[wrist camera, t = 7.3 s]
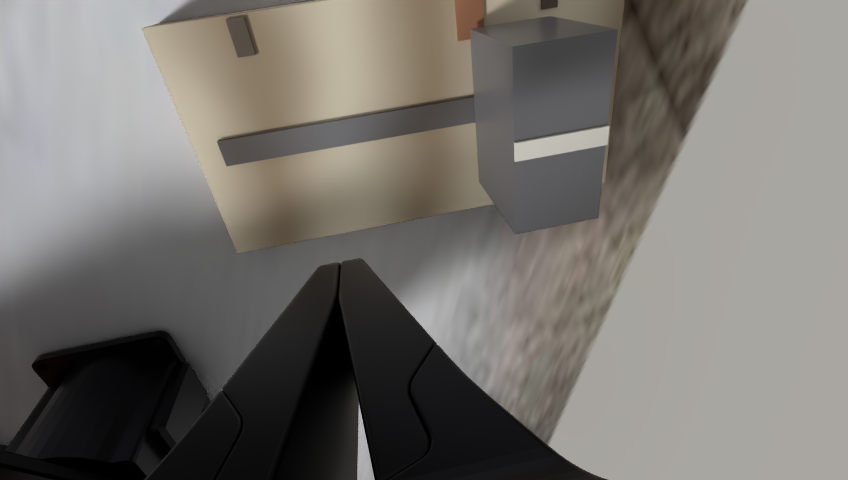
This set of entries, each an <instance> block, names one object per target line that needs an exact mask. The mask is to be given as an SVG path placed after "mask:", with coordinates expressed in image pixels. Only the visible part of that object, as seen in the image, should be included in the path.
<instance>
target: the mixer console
mask: <svg viewBox="0 0 848 480" xmlns="http://www.w3.org/2000/svg"><path fill="white" fill-rule="evenodd" d="M624 2H625V0H314V1H307V2H300V3H294V4H287V5H280V6H274V7H267V8H260V9H254V10H247V11H240V12H234V13H227V14H220V15H214V16H207V17H200V18H194V19H187V20H180V21H174V22H167V23H160V24H155V25H152V26H148V27H144V28H141V29H142V31H143V33H144V36H145V38H146V40H147V43H148V45H149V47H150V50H151V52H152V54H153V57H154V59H155V61H156V64H157V66H158V68H159V71H160V73H161V76H162V78H163V80H164V83H165V85H166V87H167V90H168V92H169V94H170V97H171V99H172V101H173V104H174V106H175V108H176V111H177V113H178V115H179V118H180V120H181V122H182V125H183V127H184V129H185V132H186V134H187V136H188V139H189V141H190V143H191V146H192V148H193V150H194V153H195V155H196V157H197V160H198V162H199V164H200V167H201V169H202V171H203V174H204V176H205V178H206V181H207V183H208V186H209V188H210V190H211V193H212V195H213V197H214V200H215V202H216V204H217V207H218V209H219V211H220V214H221V216H222V218H223V221H224V223H225V225H226V228H227V230H228V232H229V235H230V237H231V239H232V242H233V244H234V246H235V249H236V251H237V253H243V252H249V251H254V250H259V249H264V248H269V247H275V246H280V245H285V244H290V243H295V242H300V241H306V240H311V239H316V238H321V237H326V236H331V235H337V234H342V233H347V232H352V231H357V230H363V229H368V228H373V227H378V226H383V225H388V224H394V223H399V222H404V221H409V220H414V219H419V218H425V217H430V216H435V215H440V214H445V213H451V212H456V211H461V210H466V209H471V208H476V207H482V206H487V205H492V204H494V203H493V201H492V200H491V199H490V197H489V196H488V194H487V193H486V191H485V190H484V188H483V187H482V185H481V184H480V183H479V174H478V157H477V140H476V124H475V107H474V90H473V74H472V57H471V41H470V29H472V28H478V27H484V26H490V25H497V24H503V23H509V22H515V21H522V20H528V19H534V18H541V17H547V16H553V17H558V18H563V19H569V20H574V21H579V22H584V23H589V24H594V25H599V26H605V27H610V28H615V29H618V34H617V43H616V53H615V62H614V72H613V81H612V91H611V100H610V110H609V119H608V126H610V127H609V136H608V145H606V147H605V157H604V166H603V176H602V183H605V176H606V167H607V157H608V148H609V139H610V130H611V121H612V112H613V103H614V94H615V84H616V75H617V66H618V57H619V48H620V39H621V30H622V20H623V11H624Z"/></svg>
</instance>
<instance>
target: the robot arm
mask: <svg viewBox="0 0 848 480" xmlns="http://www.w3.org/2000/svg"><path fill="white" fill-rule="evenodd" d="M157 340H160V341H162V342H159V341H157ZM32 368H33V370H34V371H35V372H36V373H37V374H38V375H39V377H40V378H41V379H42V380H43V381H44V382H45V383H46V384H47V386H48V387H49V388H48V389H47V391H46V392H45V394H44V395H43V397H42V398H41V400H40V401H39V402H38V404H37V405H36V407H35V408H34V410H33V411H32V412H31V414H30V415H29V417H28V418H27V420H26V421H25V423H24V424H23V425H22V427H21V428H20V430H19V431H18V433H17V434H16V435H15V437H14V438H13V440H12V441H11V443H10V444H9V446H8V447H7V448H6V450H5V451H4V450H0V480H357V458H358V409H359V404H360V409H361V414H362V419H363V424H364V429H365V434H366V439H367V444H368V448H369V453H370V458H371V463H372V468H373V473H374V478H375V480H607V479H604V478H601V477H598V476H596V475H593V474H591V473H589V472H587V471H585V470H583V469H581V468H579V467H578V466H576V465H574V464H572V463H571V462H569V461H568V460H566V459H565V458H563V457H562V456H561V455H559V454H558V453H557V452H556V451H554V450H553V449H552V448H551V447H549V446H548V445H547V444H546V443H545V442H543V441H542V440H541V439H540V438H539V437H537V436H536V435H535V434H534V433H533V432H531V431H530V430H529V429H528V428H527V427H525V426H524V425H523V424H522V423H521V422H520V421H518V420H517V419H516V418H515V417H514V416H512V415H511V414H510V413H509V412H508V411H506V410H505V409H504V408H503V407H502V406H500V405H499V404H498V403H497V402H496V401H495V400H493V399H492V398H491V397H490V396H489V395H488V394H486V393H485V392H484V391H483V390H482V389H481V388H480V387H479V386H477V385H476V384H475V383H474V382H473V381H472V380H471V379H470V378H469V377H467V376H466V374H465V373H464V372H463V371H462V370H461V369H460V368H459V367H458V366H457V365H456V364H455V363H454V362H453V361H452V360H451V359H450V358H449V357H448V355H447V354H446V353H445V352H444V351H443V350H442V349H441V348H440V346H438V345H437V344H436V342H435V341H434V340H433V339H432V338H431V336H430V335H429V334H428V333H427V332H426V331H425V330H424V329H423V327H422V326H421V325H420V324H419V323H418V322H417V321H416V319H415V318H414V317H413V316H412V315H411V314H410V313H409V311H408V310H407V309H406V308H405V307H404V306H403V305H402V303H401V302H400V301H399V300H398V299H397V298H396V297H395V296H394V294H393V293H392V292H391V291H390V290H389V289H388V288H387V286H386V285H385V284H384V283H383V282H382V281H381V280H380V278H379V277H378V276H377V275H376V274H375V273H374V272H373V271H372V269H371V268H370V267H369V266H368V265H367V264H366V263H365V261H364V260H363V259H361V258H358V259H353V260H348V261H344V262H342V263H341V264H340V263H333V264H327V265H322V266H320V267H318V268H317V270H316V271H315V272H314V273H313V275H312V276H311V277H310V278H309V280H308V281H307V282H306V283H305V285H304V286H303V287H302V289H301V290H300V291H299V292H298V294H297V295H296V296H295V297H294V299H293V300H292V301H291V302H290V304H289V305H288V306H287V307H286V309H285V310H284V311H283V313H282V314H281V315H280V316H279V318H278V319H277V320H276V321H275V323H274V324H273V325H272V326H271V328H270V329H269V330H268V331H267V333H266V334H265V335H264V336H263V338H262V339H261V340H260V342H259V343H258V344H257V345H256V347H255V348H254V349H253V350H252V352H251V353H250V354H249V355H248V357H247V358H246V359H245V360H244V362H243V363H242V364H241V365H240V367H239V368H238V369H237V371H236V372H235V373H234V374H233V376H232V377H231V378H230V379H229V381H228V382H227V383H226V384H225V386H224V387H223V389H222V390H223V392H222V391H221V392H219V393H218V394H217V395H216V397H215V398H214V399H213V401H212V402H210V400H209V398H208V397H207V392H206V390H205V389H204V387H203V385H202V384H201V382H200V380H199V379H198V377H197V375H196V374H195V372H194V370H193V369H192V367H191V365H190V364H189V363H187V362H186V360H185V358H184V357H183V355H182V353H181V352H180V350H179V348H178V347H177V345H176V343H175V342H174V340H173V338H172V337H171V335H170V334H169V333H167V332H164V331H155V332H150V333H145V334H140V335H135V336H130V337H125V338H120V339H115V340H111V341H106V342H101V343H96V344H91V345H86V346H81V347H76V348H71V349H66V350H62V351H57V352H52V353H47V354H42V355H40V356H38V357H37V358H36V360H35V361H34V362H33V364H32Z"/></svg>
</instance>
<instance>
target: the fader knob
mask: <svg viewBox="0 0 848 480" xmlns="http://www.w3.org/2000/svg"><path fill="white" fill-rule="evenodd" d="M617 34H618V29H615V28H610V27H605V26H599V25H594V24H589V23H584V22H579V21H574V20H569V19H563V18H558V17H553V16H547V17H541V18H534V19H528V20H522V21H515V22H509V23H503V24H497V25H490V26H484V27H478V28H472V29H470V41H471V57H472V74H473V90H474V107H475V124H476V140H477V157H478V174H479V183H480V184H481V185H482V187H483V188H484V190H485V191H486V193H487V194H488V196H489V197H490V199H491V200H492V201H493V203H494V204H495V206H496V207H497V209H498V210H499V212H500V213H501V215H502V216H503V217H504V219H505V220H506V222H507V223H508V225H509V226H510V228H511V229H512V231H513V232H514V234H520V233H525V232H530V231H535V230H540V229H545V228H550V227H555V226H560V225H565V224H570V223H575V222H580V221H585V220H590V219H595V218H598V214H599V204H600V195H601V185H602V176H603V166H604V157H605V147H606V145H608V136H609V127H610V126H608V119H609V110H610V100H611V91H612V81H613V72H614V62H615V53H616V43H617Z"/></svg>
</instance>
